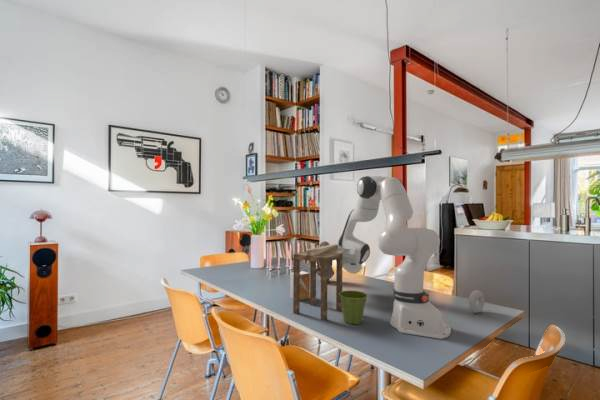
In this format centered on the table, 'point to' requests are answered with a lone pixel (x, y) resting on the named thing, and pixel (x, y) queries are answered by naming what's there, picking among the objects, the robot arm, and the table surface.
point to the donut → (476, 301)
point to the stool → (324, 261)
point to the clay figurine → (329, 269)
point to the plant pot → (353, 306)
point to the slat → (321, 250)
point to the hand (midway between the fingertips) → (333, 246)
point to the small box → (301, 285)
